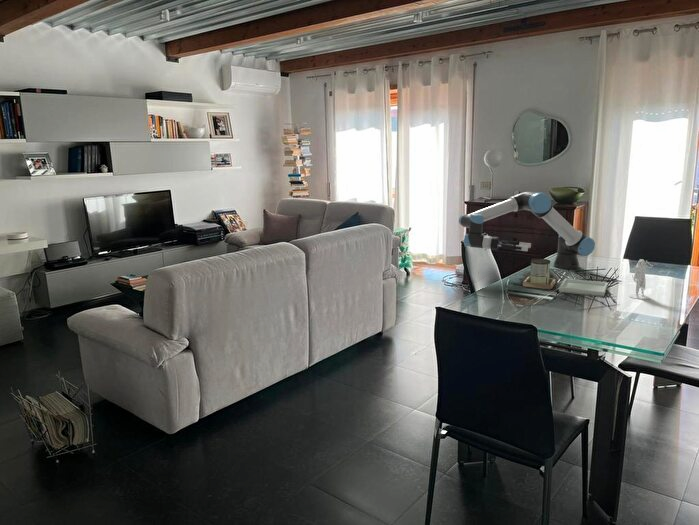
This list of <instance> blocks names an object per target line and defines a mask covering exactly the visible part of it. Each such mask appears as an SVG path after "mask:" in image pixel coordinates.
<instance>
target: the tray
mask: <svg viewBox="0 0 699 525" xmlns="http://www.w3.org/2000/svg"><path fill="white" fill-rule="evenodd" d="M607 290H608V282H604V281H595V280H586V279H585V280H584V279H574V278H564V279H563V280H562V281H561V284H560V285H559V287H558V293H563V294H564V293H566V294H572V295H573V294H575V295H583V296H591V297H592V296H593V297H602V298H603V297H605V295H606V292H607Z"/></svg>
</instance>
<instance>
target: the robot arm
mask: <svg viewBox="0 0 699 525" xmlns="http://www.w3.org/2000/svg"><path fill="white" fill-rule="evenodd" d="M519 211H527V212H528V211H529V212H531V213H532V214H534V215H535V217H537V218H538V219H543V220H544V221H545V223H547V225H549V226H550V227H551V228H552V229H553V230H554V232H557V234H558V239H557V240H558V241H557V254H556V257H555V259H554V261H553V267H555V268H557V269H562V270H563V269H564V270H575V269H579V267H580V262H579V257H578V255H579V256H581V257H587V256H590V255H591V254H592V253H593V252H594V250H595V248H596V247H595V246H596V243H595V241H594V239H593V238H592V237H590V236H587V235H586V234H585V233H584V232H582V230H577V229H576V228H575V227H574V226H573V225H571V223H570V222H568V220H566V218H564V217H563V215H561V214H560V213H559V212H558V211H557V210H556V209H555V208H554V204H553V202H552V199H551V197H550V195H548V194H546V193H544V192H541V191H532V190H527V191H524V192H521V193H517V194H515V195H512V196H510V197H509V198H508V199H506V200H504V201H501V202H497V203H495V204H493V205H490V206H488V207H485V208H481V209H479V210H476V211H475V212H471V213H469V214H467V213H464V214H462V215H460V216H459V218H458V224H459V225H460V226H461V227H463V228H466V229H468V233H465V234H464V238H463V244H464V246H465V247H470V248H477V249H484V250H485V251H486V250H492V251H497V250H498V249H505V250H510V251H513V252H516V251H522V252H528V251H529V249H531V247H532V242H523V241H520V240H503V239H502V240H501V241H500V237H499V236H491V235H484V234H483V225H484V223H485V222H486V221H490V220H492V219H495V218H498V217H500V216H504V215H506V214H509V213H512V212H516V213H517V212H519Z"/></svg>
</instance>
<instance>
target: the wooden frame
mask: <svg viewBox="0 0 699 525" xmlns="http://www.w3.org/2000/svg"><path fill="white" fill-rule="evenodd" d="M556 282H557V281H556V278H550V277H549V284H541V283H531V282H530V275H529V276H528V277H526V278H525V279H524V281H523V282H522V287H525V288H535V289H542V290H543V289H544V290H552V289H553V287H554V286H555V284H556Z"/></svg>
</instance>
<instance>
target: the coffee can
mask: <svg viewBox="0 0 699 525" xmlns="http://www.w3.org/2000/svg"><path fill="white" fill-rule="evenodd" d="M550 270H551V260H550V259H547V258H532V259H531V260H530V275H529V276H530V281H529V282H531V283H541V284H550V283H549V278H550V273H551V271H550Z"/></svg>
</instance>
